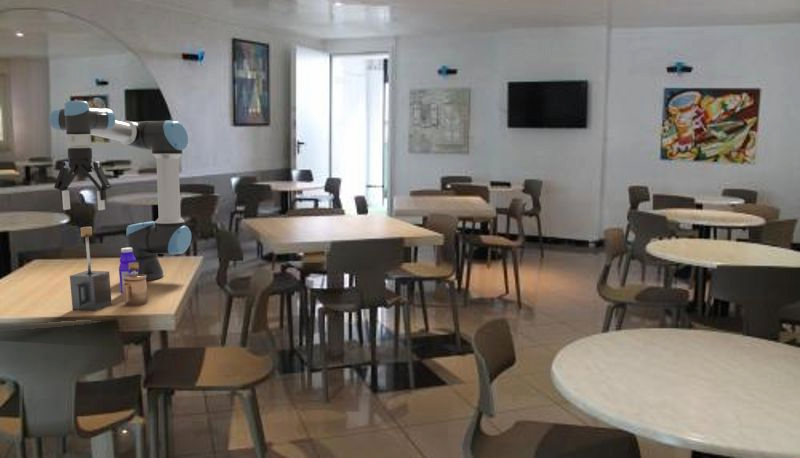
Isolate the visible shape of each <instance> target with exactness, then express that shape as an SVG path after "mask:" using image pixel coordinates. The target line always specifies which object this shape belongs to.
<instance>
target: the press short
mask: <svg viewBox="0 0 800 458" xmlns="http://www.w3.org/2000/svg"><path fill="white" fill-rule="evenodd" d="M138 269H139V265H138V262H131V263H129V270H133V274H130V275H125V276H123V277H122V279H123V284H124V285H122V293H123V294H122V302H123V303H124V305H125V306H131V307H133V306H141V305H142V306H143V305H146V304H148V289H147V288H148V287H147V281H146V278H147V277H146V275H145V274H136V270H138Z"/></svg>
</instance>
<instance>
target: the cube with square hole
mask: <svg viewBox="0 0 800 458" xmlns="http://www.w3.org/2000/svg"><path fill="white" fill-rule="evenodd" d="M69 283H70V293H71V308H72V311H86V312H89V311H90V312H97V311H99V310H102V309H104V308H107V307H109V306H111V305H112V304H113V303H112V294H111V293H112V291H111V279H110V271H107V270H91V274H88V270H84V271H81V272H77V273H75V274H72V275H69Z"/></svg>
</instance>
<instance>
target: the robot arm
mask: <svg viewBox="0 0 800 458" xmlns="http://www.w3.org/2000/svg"><path fill="white" fill-rule="evenodd" d="M49 124H50V126H51V127H52V128H53V129H54V130H57V131H63V132H64V131H65V133H66V145H67V146H66V147H69V148H67V158H68V160H69V161H61V162H60V169H59V172H58V175H57V178H56V180H55V183H54V186H53V187H54V189H56V190H59V194H60V200H62V209H63V210H64V211H66V210H71V199H70V198H71V197H70V190H69V189H68V188H69V186H70V185H71V183H72V182H73V181H74V179H75V178H76V176H87V178H89V180H90V181H91V182H92V184H93V185H94V186H95V187H96V188H97V191H96V198H97V199H96V200H97V210H98V211H103V210H106V202H105V201H106V200H107V192H106V191H107V190H108V189H109V190H110V189H112V185H111V183H110V181H109V180H108V177H107V175H106V174H105V171H104V170H103V168H102V164H101V161H98V160H97V161H92V158H93V149H92V147H91V146H92V145H93V144H92V136H95V137H99V138H104V139H108V140H113V141H118V142H119V143H120V144H121V145H123V146H124V145H125V146H129V147H132V148H137V149H141V150H146V151H147V150H148V151H151V155H152V156H153V157H154V158H155V159H156V180H157V181H156V185H157V187H156V188H157V208H158V209H157V210H158V213H157V214H158V218H157V219H156V220H155V221H154V220H153V221H152V220H151V221H145V222H139V223H134V224H130V225H127V227H126V235H125V237H126V246H127V247H126V248H132V249H133V255H134V257H135V259H136V260H135V262H138V265H139V269H138V274H145V275H146V277H147V278H146V282H147V281H153V280H157V279H158V280H159V279H161V278H163V277H164V270H163V268H162V264H161V262H160V260H159V256H158V254H160V255H161V254H162V255H164V254H165V255H171V256H173V255H181V254H184V253H185V252H187V250H188V249H189V247H190V245H191V241H192V232H191V230H190V229H191V228H189V227H188V226H187V225H186V221H185V220H184V219H183V217H182V216H181V194H180V193H181V192H180V166H179V165H180V164H179V163H180V162H179V161H180V160H179V159H180V158H181V157H182V155H183V150H185V149H186V148H187V146H188V143H189V136H188V131H187V130H186V128H185V127H184V125H183V123H181V122H180V121H176V120H169V119H168V120H145V121H130V120H124V121H120V120H116V115H115V113H114V112H113V110H111V109H110V108H106V107H105V108H104V107H90V105H89V102H87V101H84V100H68V101H65V103H64V108H57V109H56V108H55V109H53V110H52V111H51V112H50V114H49ZM69 168H70V169H69Z"/></svg>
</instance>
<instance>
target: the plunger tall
mask: <svg viewBox="0 0 800 458" xmlns="http://www.w3.org/2000/svg"><path fill="white" fill-rule="evenodd" d="M80 237H82V238H85V251H86V261H87V262H86V264H87V271H88V274H91V271H92V265H91V252H90V240H89V239H90V238H89V237H93V227H92V226H83V227H80Z"/></svg>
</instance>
